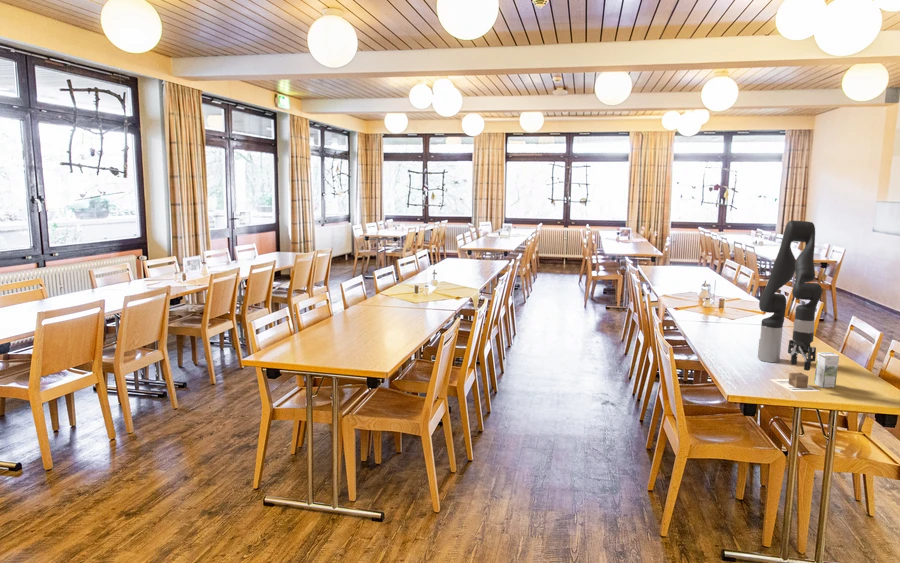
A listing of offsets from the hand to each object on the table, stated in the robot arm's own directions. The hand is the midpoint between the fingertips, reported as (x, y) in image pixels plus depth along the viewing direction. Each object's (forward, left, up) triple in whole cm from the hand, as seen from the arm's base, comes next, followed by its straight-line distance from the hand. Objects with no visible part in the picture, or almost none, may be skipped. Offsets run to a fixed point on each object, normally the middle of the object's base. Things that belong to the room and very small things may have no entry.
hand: (800, 367), depth 247 cm
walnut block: (0, 0, -8) cm, 8 cm away
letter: (-1, -1, -9) cm, 9 cm away
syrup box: (0, +12, -9) cm, 15 cm away
